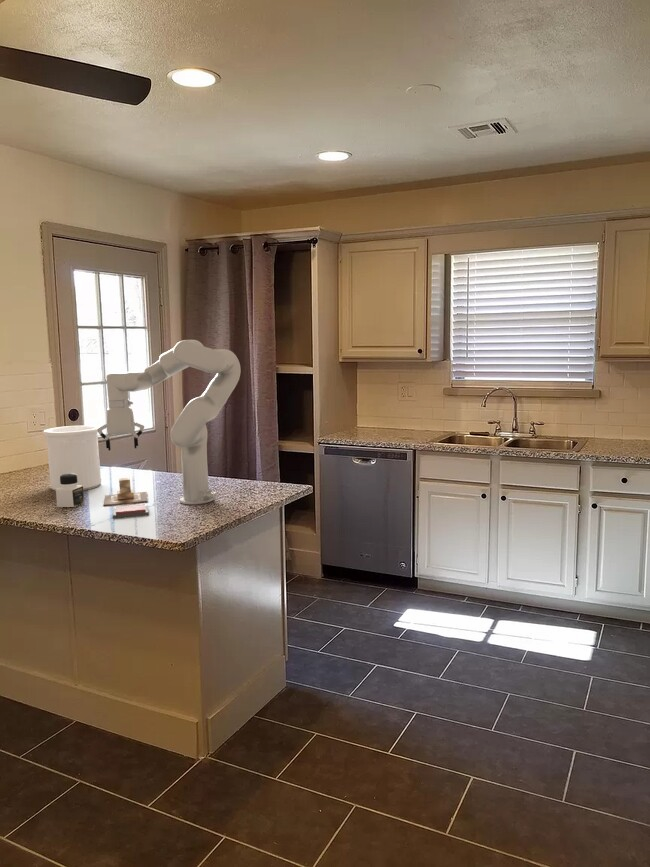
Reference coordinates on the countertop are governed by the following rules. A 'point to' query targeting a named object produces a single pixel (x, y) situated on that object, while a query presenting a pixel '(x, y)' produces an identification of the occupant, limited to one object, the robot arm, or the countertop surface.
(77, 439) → the bucket
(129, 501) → the marked board
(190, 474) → the robot arm
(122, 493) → the stamp
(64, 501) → the medicine bottle
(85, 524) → the countertop surface
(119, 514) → the ink pad
